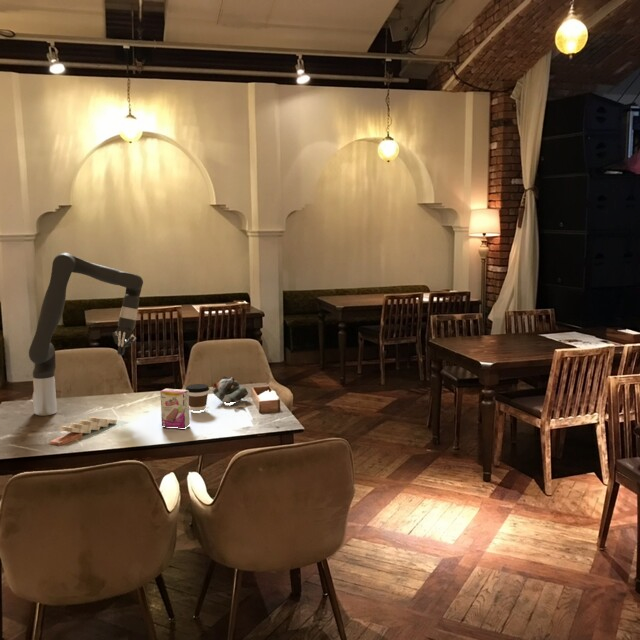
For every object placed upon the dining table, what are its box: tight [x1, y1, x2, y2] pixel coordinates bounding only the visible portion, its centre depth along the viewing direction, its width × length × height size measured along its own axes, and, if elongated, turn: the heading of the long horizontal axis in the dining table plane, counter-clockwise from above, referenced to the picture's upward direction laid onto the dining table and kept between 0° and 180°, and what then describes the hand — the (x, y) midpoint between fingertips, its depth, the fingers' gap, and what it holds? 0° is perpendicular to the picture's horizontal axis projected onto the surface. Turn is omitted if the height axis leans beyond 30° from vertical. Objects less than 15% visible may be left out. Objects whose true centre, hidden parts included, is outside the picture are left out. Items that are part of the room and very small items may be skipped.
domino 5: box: [87, 416, 118, 424], centre depth 301 cm, size 5×2×12 cm
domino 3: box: [68, 422, 100, 430], centre depth 292 cm, size 5×2×12 cm
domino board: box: [79, 418, 130, 440], centre depth 299 cm, size 12×26×1 cm, turn 153°
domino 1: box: [49, 432, 82, 446], centre depth 284 cm, size 5×2×12 cm
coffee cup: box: [184, 383, 210, 411], centre depth 325 cm, size 11×11×12 cm
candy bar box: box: [160, 388, 191, 428], centre depth 301 cm, size 11×5×16 cm, turn 74°
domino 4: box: [78, 419, 108, 427], centre depth 297 cm, size 5×2×12 cm
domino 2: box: [59, 425, 91, 433], centre depth 288 cm, size 5×2×12 cm
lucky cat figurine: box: [212, 376, 249, 403], centre depth 340 cm, size 15×12×14 cm
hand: (120, 354), depth 322 cm, fingers closed
